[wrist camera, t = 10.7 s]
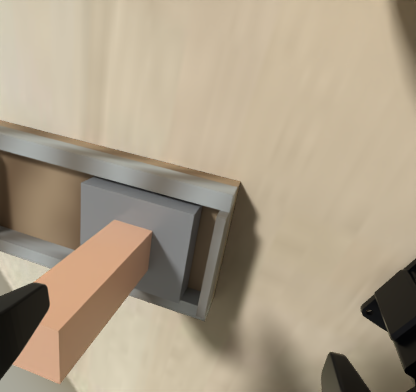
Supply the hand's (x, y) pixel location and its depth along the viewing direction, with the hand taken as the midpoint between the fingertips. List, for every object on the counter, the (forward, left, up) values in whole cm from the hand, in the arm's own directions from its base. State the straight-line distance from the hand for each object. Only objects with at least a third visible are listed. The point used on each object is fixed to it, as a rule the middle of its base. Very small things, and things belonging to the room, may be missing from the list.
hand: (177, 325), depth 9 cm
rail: (+8, +8, -13) cm, 18 cm away
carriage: (+4, +7, -12) cm, 14 cm away
